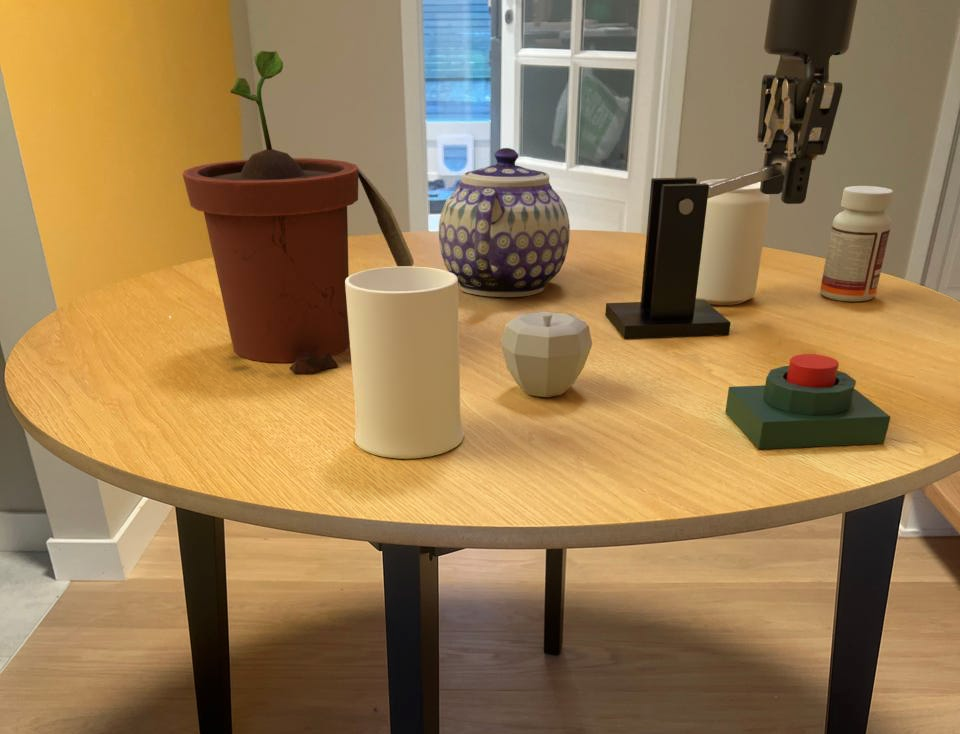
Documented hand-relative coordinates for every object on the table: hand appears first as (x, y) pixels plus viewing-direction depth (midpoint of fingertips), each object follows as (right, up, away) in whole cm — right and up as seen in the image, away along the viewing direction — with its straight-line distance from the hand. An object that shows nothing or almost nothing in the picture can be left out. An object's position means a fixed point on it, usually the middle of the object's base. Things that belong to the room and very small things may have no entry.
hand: (781, 197), depth 94 cm
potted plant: (-46, -15, +1) cm, 48 cm away
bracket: (-10, -11, +6) cm, 16 cm away
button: (-4, -24, -21) cm, 32 cm away
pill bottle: (+13, -4, +15) cm, 20 cm away
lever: (-5, 0, -1) cm, 5 cm away
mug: (-35, -28, -19) cm, 49 cm away
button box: (-4, -27, -19) cm, 33 cm away
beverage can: (-2, -5, +15) cm, 16 cm away
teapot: (-27, -2, +20) cm, 34 cm away
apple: (-24, -22, -11) cm, 35 cm away
